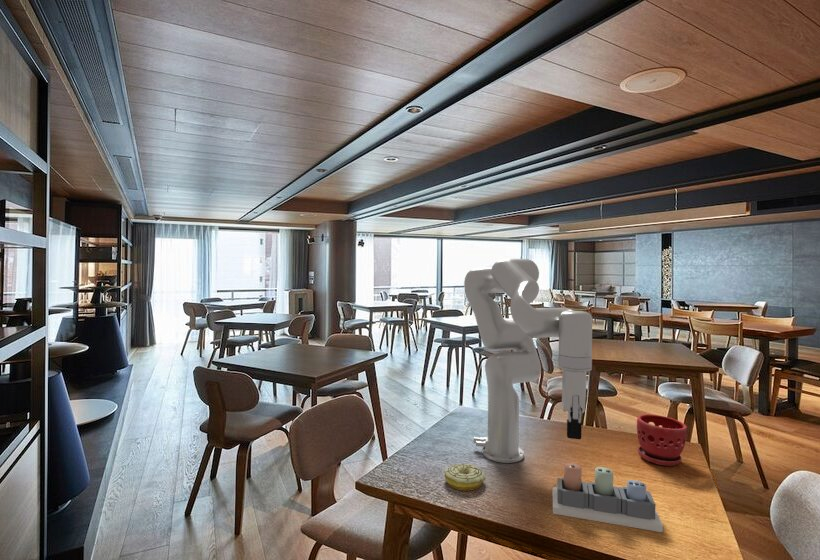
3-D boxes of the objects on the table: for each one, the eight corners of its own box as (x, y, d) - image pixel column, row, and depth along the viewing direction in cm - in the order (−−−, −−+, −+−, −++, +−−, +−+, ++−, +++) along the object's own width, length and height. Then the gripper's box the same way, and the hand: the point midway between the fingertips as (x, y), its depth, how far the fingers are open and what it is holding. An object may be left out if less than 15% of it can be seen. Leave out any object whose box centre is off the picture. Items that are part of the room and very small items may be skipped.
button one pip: (563, 489, 104) (564, 468, 104) (563, 481, 108) (563, 461, 108) (581, 492, 103) (582, 470, 102) (580, 484, 106) (581, 463, 106)
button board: (552, 513, 102) (553, 492, 102) (552, 492, 111) (552, 473, 111) (662, 532, 95) (663, 510, 95) (652, 508, 104) (652, 488, 104)
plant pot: (661, 472, 123) (662, 430, 123) (626, 453, 136) (627, 415, 135) (696, 466, 127) (697, 426, 126) (659, 448, 139) (660, 411, 139)
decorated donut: (492, 482, 117) (492, 469, 117) (469, 498, 109) (469, 483, 109) (460, 470, 124) (460, 457, 124) (437, 483, 116) (437, 469, 116)
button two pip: (595, 494, 102) (595, 472, 102) (593, 486, 106) (594, 465, 105) (614, 497, 100) (614, 475, 100) (611, 488, 104) (612, 467, 104)
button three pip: (628, 508, 100) (628, 486, 99) (625, 499, 103) (625, 478, 103) (647, 511, 98) (648, 489, 98) (643, 502, 102) (644, 480, 102)
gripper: (557, 355, 112) (557, 425, 113) (559, 367, 98) (558, 447, 99) (588, 357, 110) (588, 428, 111) (594, 370, 96) (593, 451, 96)
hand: (574, 437), depth 105 cm, fingers closed
